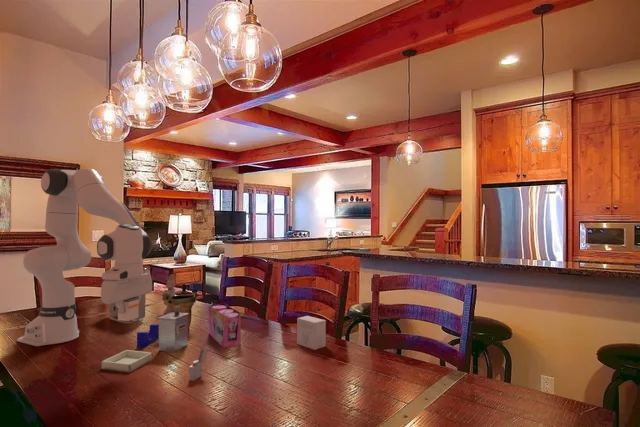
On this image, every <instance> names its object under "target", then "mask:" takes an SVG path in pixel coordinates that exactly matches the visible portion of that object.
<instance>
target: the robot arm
mask: <svg viewBox="0 0 640 427" xmlns="http://www.w3.org/2000/svg"><path fill="white" fill-rule="evenodd" d="M40 179H41V180H40V186H41V189H42V191H43V192H44V193H45V194H46V195H48V198H47V202H46V209H45V210H46V212H45V225H44V230H45V231H46V233H47V234H48V235H50V236H51V237H54V239H55V241H56V245H50V246H40V247H37V248H34V249H33V248H32V249H30V250H28V251H27V252H26V254H25V255H24V257H23V261H22V264H23V267H24V268H25V270H26V271H27V272H28V273H30V274H32V275H33V276H34V277H35V278H36V279H37V281H38V282H39V284H40V288H41V296H42V300H41V302H42V305H41V307H38V308H36V309H37V311H38V312H39V313H38V316H36V317H35V318H34V319H33V320H32V321H30V322H29V323H28V324H26V326H25V329H24V335H22V336H20V337H19V338H17V340H16V341H17V342H19V343H22V344H26V345H30V346H34V347H41V346H46V345H55V344H62V343H65V342H70V341H73V340H75V339H77V338H79V336H80V335H79V334H80V330H79V328H78V320H77V315H76V312H77V304H76V296H75V294H76V293H75V292H76V287H75V284H74V283H73V282H71V281H69V280H66V279H65V276H64V272H68V271H69V272H70V271H74V270H78V269H79V270H80V269H81V268H85V267H86V266H88V265H89V264H90V262H91V259H92V252H91V251H90V249H89V248H88V246H86V245H85V244H84V243H83V241H82V240H81V238H80V236H79V232H78V231H79V230H78V229H79V228H78V221H79V220H78V219H79V206H80V207H81V209H82V210H83V211H84V212H86V213H88V214H90V215H92V216H97V217H101V218H105V219H109V220H112V221H114V222H116V223H118V225H117V226H116V227H115V230H113V231H111V232H110V233H108V234H103V235H102V236H101V237H100V238H99V239H98V240H97V244H96V252H97V255H98V256H99V257H100V258H101V259H102V260H104V261H114V266H112V267H111V268H109V269H108V270H106V271H104V272H103V273H102V274H101V279H102V280H103V281H102V283H101V286H100V287H101V288H100V299H101V300H100V301H101V302H102V303H103V304H107V305H109V304H112V303H115V305H116V306H117V308H118V313H119V314H123V313H125V312H126V311H125V310H126V308H124V307H123V305H122V304H123V303H124V300H126V299H130V298H134V297H139V302H140V300H141V295H144V294H145V295H147V294H151V293H152V291H153V278H152V274H151V271H150V270H149V269H148V268H147V267H145V268H144V260H143V259H145V258H147V256H148V255H149V254H150V253H151V251H152V250H153V242H152V241H153V240H152V239H151V237H150V236H149V235H148V233H147V232H146V231H145V230H143V229H142V227H141V226H140V224H139V223H138V221H137V220H136V218H135V217H134V216H133V214H132V213H131V211H130V210H129V209H128V207H127V206H126V204H124V203H123V202H122V201H121V200H119V199H118V198H116V197H115V196H114V195H113V194H112V193H111V191H110V189H109V188H108V186H107V184H106V182H105V180H104V178H103V176H102V175H100V173H99V172H98V171H96V170H95V169H93V168H89V167H84V168H83V167H82V168H79V169H78V170H77V169H74V170H73V169H59V168H50V169H47V170H45V171H44V172H43V173H42V176H41V178H40ZM148 257H149V256H148Z"/></svg>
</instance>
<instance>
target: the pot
mask: <svg viewBox="0 0 640 427" xmlns="http://www.w3.org/2000/svg"><path fill="white" fill-rule="evenodd" d="M197 295H198V294H197V292H196V291H194V292H193V293H190V294H177V295H176V294H175V296H172V297H170V295H169V293H164V294H163V296H162V299H163V300H162V299H161V300H162V301H163V304H164V305H169V306H170V308H171V310H172V312H175V306H180V313H189V315H188V331H189V330H190V326H191V323H192V308H193V306H194V304H195V303H196V301H197V298H198V297H197Z"/></svg>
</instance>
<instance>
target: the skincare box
mask: <svg viewBox="0 0 640 427" xmlns="http://www.w3.org/2000/svg"><path fill="white" fill-rule="evenodd" d="M296 320H297V321H296V323H297V324H296V325H297V326H296V328H297V329H296V330H297V331H296V336H297V338H296V345H297V346H298V345H299V346H301V347H305V348H308V349H311V350H314V351H316V350H318V349H322V348H324V347H326V345H327V344H326V342H327V341H326V340H327V337H326V336H327V334H326V330H327V326H326V325H327V320H326V319H321V318H318V317H313V316H310V315H305V316H301V317H297V318H296Z"/></svg>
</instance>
